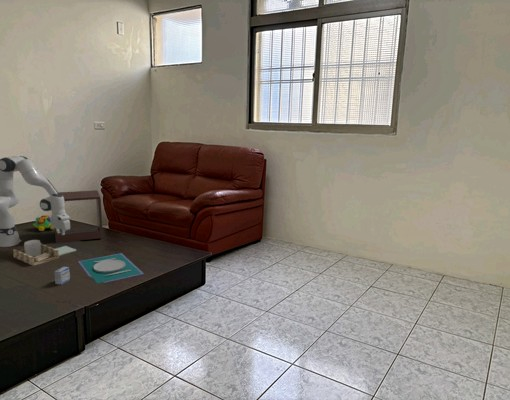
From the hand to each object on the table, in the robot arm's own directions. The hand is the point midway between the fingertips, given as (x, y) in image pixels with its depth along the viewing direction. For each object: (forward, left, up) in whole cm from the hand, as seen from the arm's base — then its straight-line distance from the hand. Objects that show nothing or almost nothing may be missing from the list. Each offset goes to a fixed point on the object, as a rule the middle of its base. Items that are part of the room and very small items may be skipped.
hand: (60, 233), depth 279 cm
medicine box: (+51, -29, -14) cm, 60 cm away
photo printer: (-6, -18, -14) cm, 23 cm away
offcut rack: (-2, -18, -14) cm, 23 cm away
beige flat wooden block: (+6, -18, -14) cm, 24 cm away
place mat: (+53, +2, -15) cm, 55 cm away
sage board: (0, 0, -14) cm, 14 cm away
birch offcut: (+6, -18, -12) cm, 23 cm away
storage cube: (-26, +30, -14) cm, 42 cm away
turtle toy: (-66, +25, -14) cm, 72 cm away
